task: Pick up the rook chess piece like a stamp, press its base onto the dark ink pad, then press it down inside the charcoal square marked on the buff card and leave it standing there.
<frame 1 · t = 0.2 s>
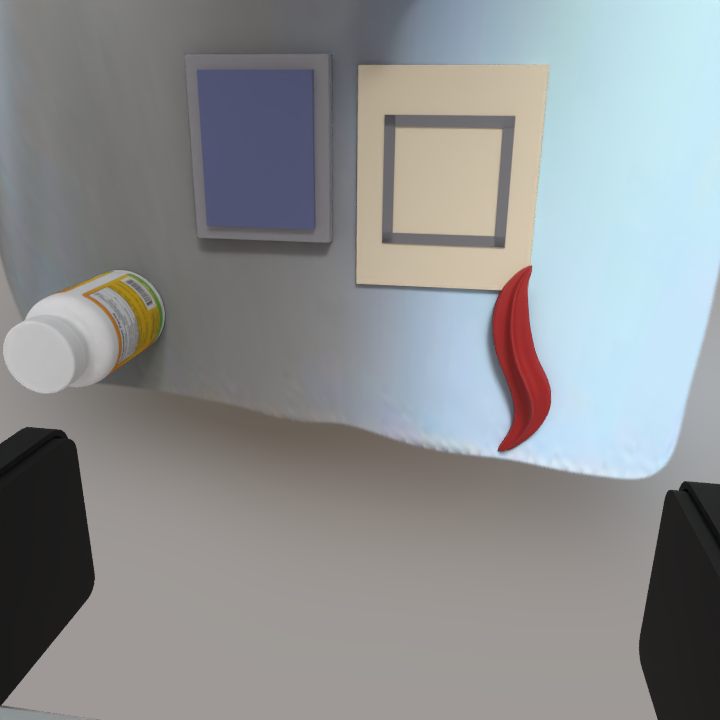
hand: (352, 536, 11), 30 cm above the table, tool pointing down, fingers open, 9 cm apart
cayenne pepper: (520, 363, 41), on the table, touching print card
ink pad: (264, 150, 39), on the table
supplement bottle 2: (129, 308, 44), on the table
print card: (446, 181, 38), on the table
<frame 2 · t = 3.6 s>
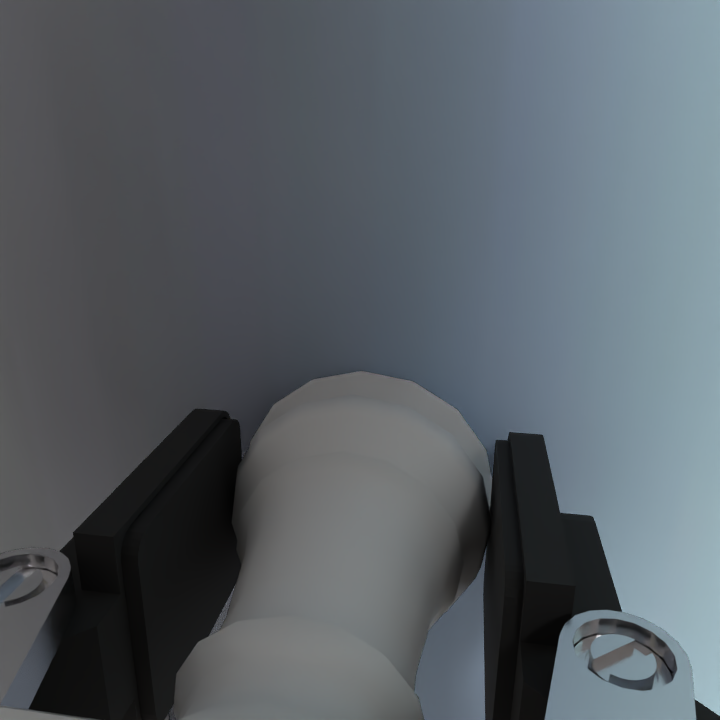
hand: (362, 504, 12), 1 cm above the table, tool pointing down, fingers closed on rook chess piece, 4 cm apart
rook chess piece: (372, 471, 13), on the table, touching gripper
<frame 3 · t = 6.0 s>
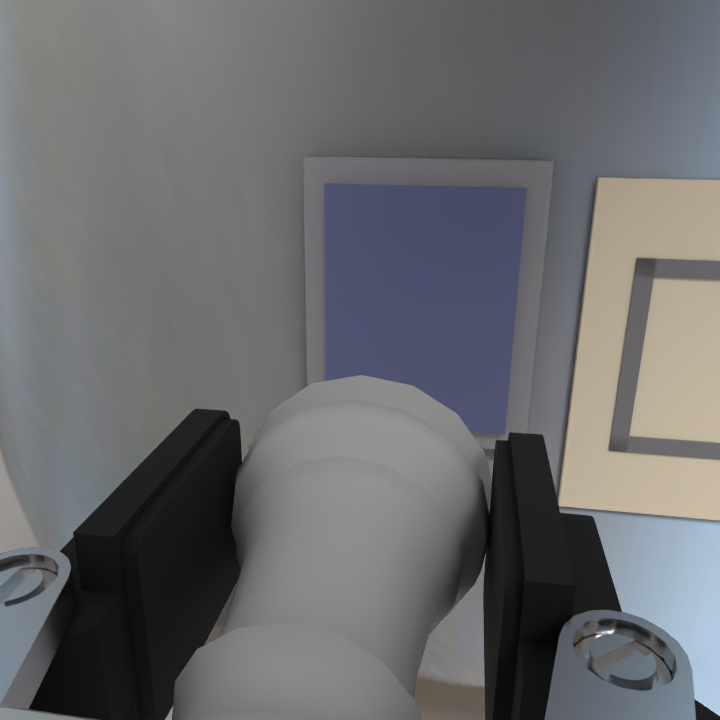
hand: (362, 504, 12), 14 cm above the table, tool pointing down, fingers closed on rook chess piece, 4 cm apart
rook chess piece: (371, 474, 13), point 12 cm above the table, touching gripper
ink pad: (421, 304, 24), on the table
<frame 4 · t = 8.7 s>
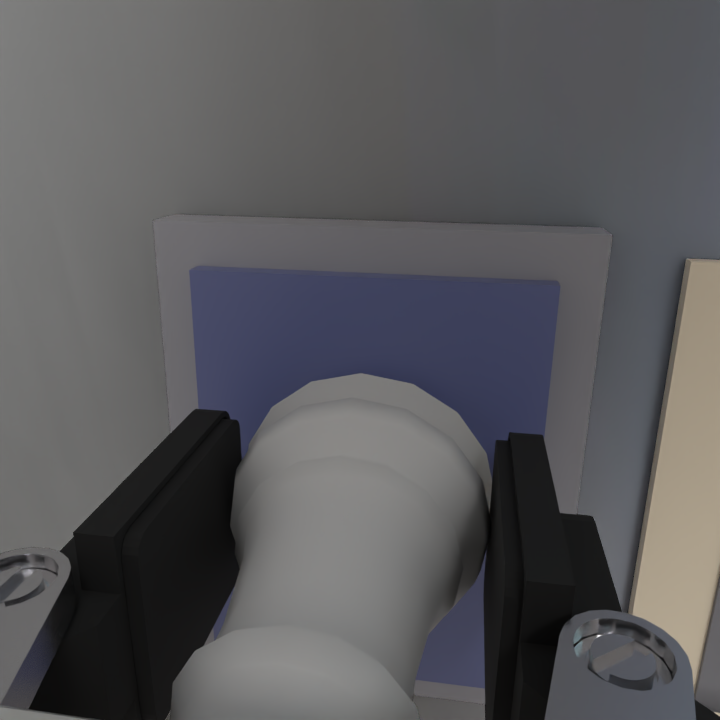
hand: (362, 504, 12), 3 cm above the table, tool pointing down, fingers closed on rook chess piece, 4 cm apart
rook chess piece: (371, 473, 13), point 2 cm above the table, touching gripper
ink pad: (373, 462, 14), on the table
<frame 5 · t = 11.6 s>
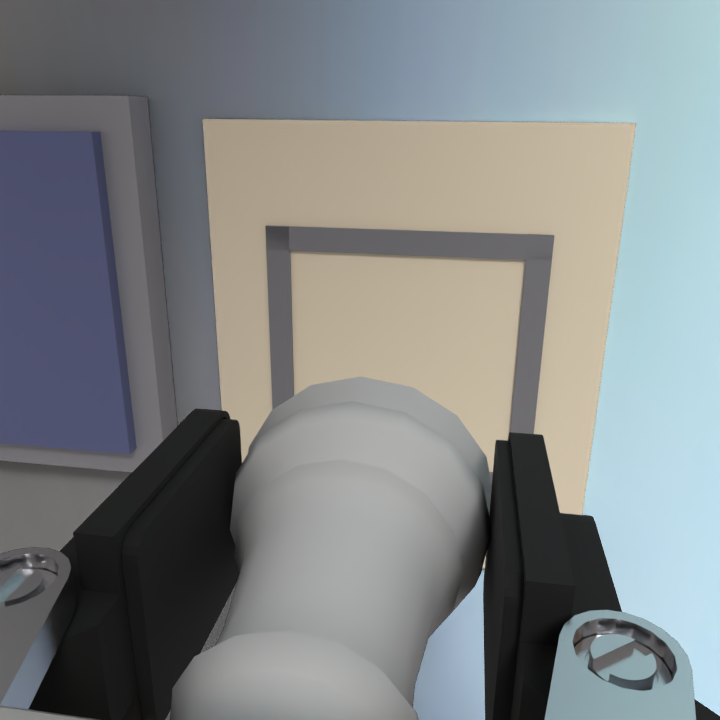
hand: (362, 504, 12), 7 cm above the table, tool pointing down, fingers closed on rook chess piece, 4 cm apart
rook chess piece: (371, 476, 13), point 6 cm above the table, touching gripper
ink pad: (30, 287, 19), on the table
print card: (402, 361, 18), on the table
when the fingers open (1 cm above the table, at t = 13.9 s): rook chess piece stays where it is, resting on print card.
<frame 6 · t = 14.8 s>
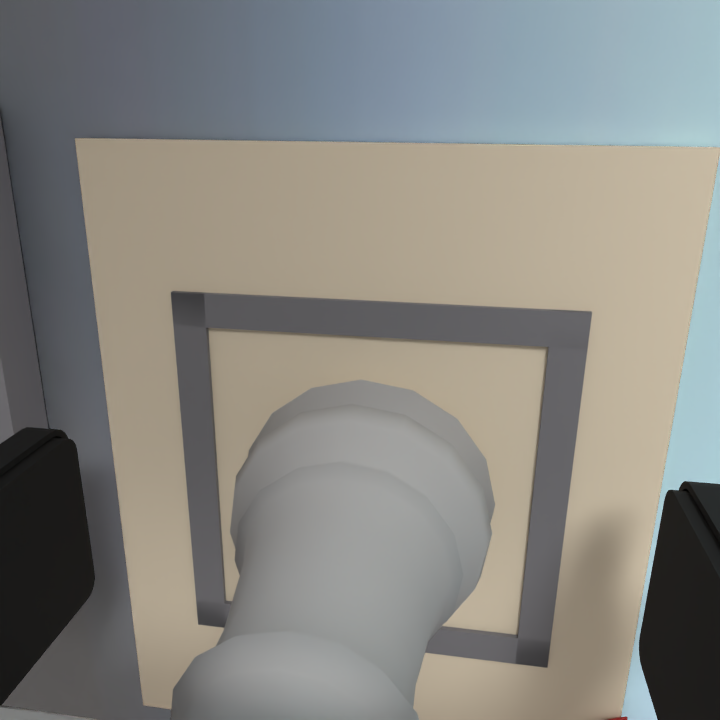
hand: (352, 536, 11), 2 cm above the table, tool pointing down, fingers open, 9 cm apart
rook chess piece: (371, 479, 13), resting on print card
print card: (371, 478, 13), on the table
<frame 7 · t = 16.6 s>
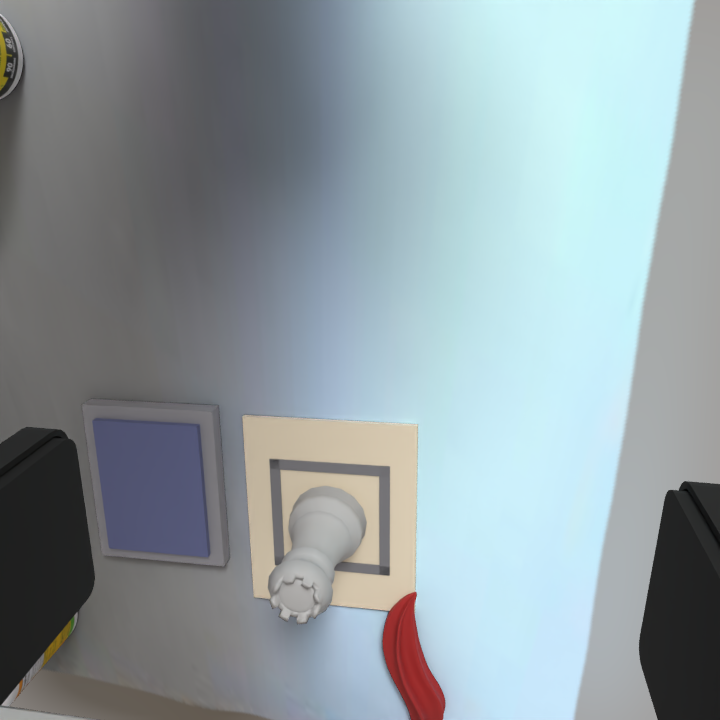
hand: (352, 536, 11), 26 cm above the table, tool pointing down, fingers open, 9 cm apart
cayenne pepper: (414, 671, 42), on the table, touching print card
rook chess piece: (331, 514, 40), resting on print card
ink pad: (161, 479, 41), on the table
supplement bottle 2: (45, 602, 46), on the table
print card: (331, 514, 40), on the table
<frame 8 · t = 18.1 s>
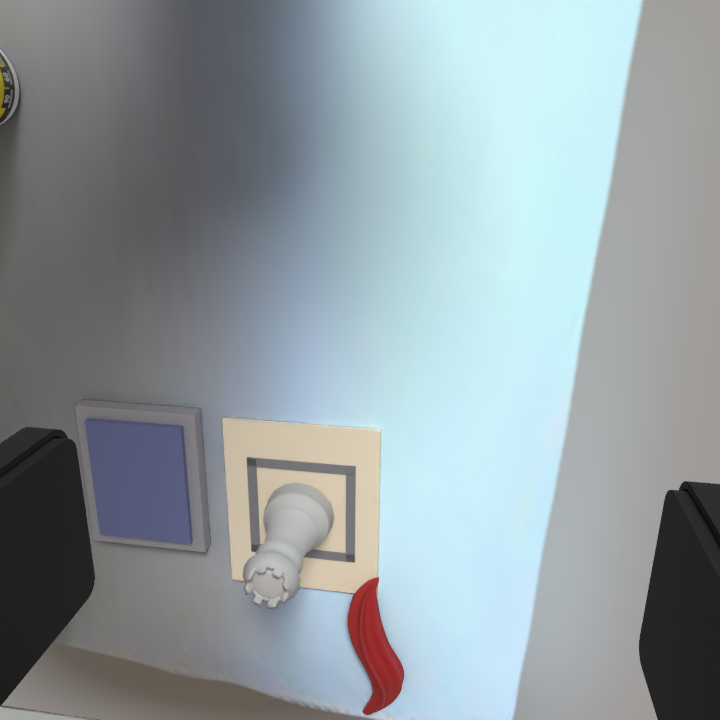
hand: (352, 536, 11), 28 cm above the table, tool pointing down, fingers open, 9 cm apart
cayenne pepper: (376, 646, 47), on the table, touching print card
rook chess piece: (302, 507, 44), resting on print card
ink pad: (148, 473, 45), on the table
print card: (302, 507, 44), on the table
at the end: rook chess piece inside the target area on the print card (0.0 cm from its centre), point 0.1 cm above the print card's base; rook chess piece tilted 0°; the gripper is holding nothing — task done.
